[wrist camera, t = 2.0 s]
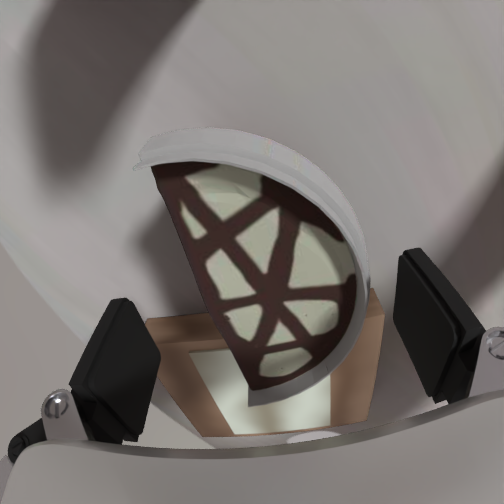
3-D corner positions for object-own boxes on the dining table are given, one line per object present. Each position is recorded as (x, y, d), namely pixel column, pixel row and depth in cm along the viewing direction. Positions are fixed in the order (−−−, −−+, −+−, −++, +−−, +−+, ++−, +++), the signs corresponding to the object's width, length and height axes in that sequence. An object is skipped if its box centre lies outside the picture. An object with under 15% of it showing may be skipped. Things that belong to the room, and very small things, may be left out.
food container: (340, 270, 21) (379, 389, 12) (255, 288, 22) (251, 412, 13) (304, 88, 15) (361, 86, 6) (198, 115, 16) (125, 150, 7)
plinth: (372, 287, 21) (385, 316, 19) (361, 398, 29) (367, 422, 26) (147, 318, 24) (136, 346, 21) (205, 415, 31) (202, 438, 29)
